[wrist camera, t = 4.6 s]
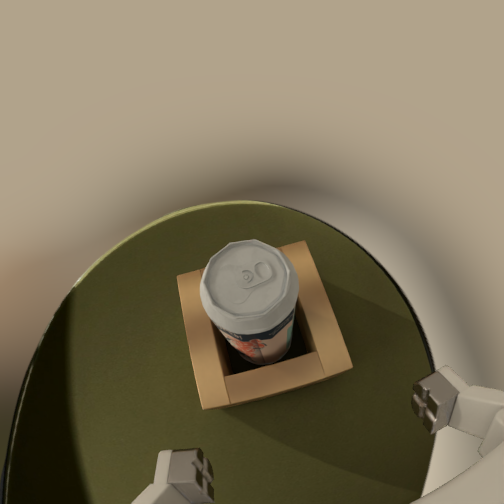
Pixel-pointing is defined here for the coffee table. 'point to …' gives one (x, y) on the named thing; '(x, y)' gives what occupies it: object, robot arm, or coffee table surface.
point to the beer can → (252, 299)
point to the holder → (272, 376)
